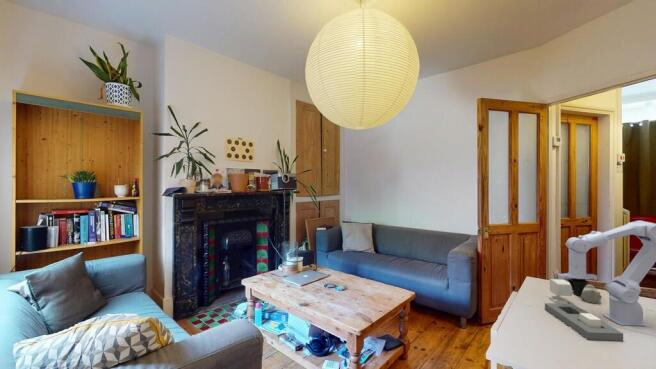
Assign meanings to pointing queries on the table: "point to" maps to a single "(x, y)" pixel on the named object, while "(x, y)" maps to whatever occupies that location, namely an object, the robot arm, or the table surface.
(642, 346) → the table surface
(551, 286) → the security camera
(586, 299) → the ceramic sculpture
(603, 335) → the socket board
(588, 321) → the plug
